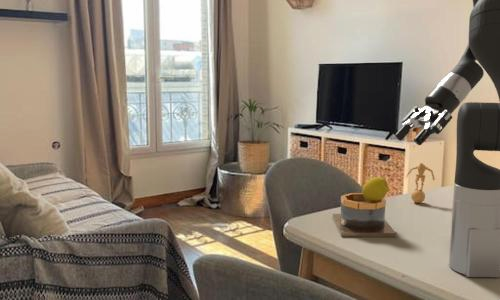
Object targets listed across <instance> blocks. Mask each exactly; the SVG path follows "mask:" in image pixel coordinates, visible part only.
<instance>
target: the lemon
mask: <svg viewBox="0 0 500 300" xmlns="http://www.w3.org/2000/svg"><path fill="white" fill-rule="evenodd" d="M361 191H362V192H361V193H363V196H364V198H365V200H366V201H369V202H377V201H380V200H381V199H383V198H384V199H385V197H386V195H387V194H388V191H389V184H388V182H387V180H386V179H385V178H383V177H380V176H374V177H372V178H370V179H369V180H367V181H366V182H365V183H364V185H363V187H362V189H361Z"/></svg>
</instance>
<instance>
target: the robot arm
mask: <svg viewBox="0 0 500 300" xmlns="http://www.w3.org/2000/svg"><path fill="white" fill-rule="evenodd" d="M472 4H473V5H472V7H473V8H472V9H471V12H470V14H469V23H468V42H467V45H466V48H465V50H464V52H463V54H462V56H461V58H460V60H459V61H458V63H457V64H456V65H455V66H454V68H452V70H451V71H450V72H449V73H448V74H446V76H444V77H443V78H442V79H441V80H440V81H439V83H437V84H436V85H435V86H434V88H432V90H431V91H430V92H429V93H428V94H427V95H426V97H425V99H424V102H425V104H424V106H423V107H421V108H419V107H418V106H417V105H416V106H414V107H413V108H412V109H411V110H410V111H408V113H407V114H406V115H405V116H404V117H403V118H402V119H401V120H400V123H401V124H402V127H400V129H399V130H398V131H397V132H396V133H395V134H394V137H395V138H396V140H397V141H400V142H401V141H403V139H405V137H407V136H408V134H409V133H411V131H412V130H414V129H415V128H417V129H418V128H420V127H423V126H424V128H422V129H421V131H420V132H418V134H416V136H415V137H414V138H413V141H414V143H415V144H417V146H421V145H422V144H423V143H424V142H426V140H427V139H428V138H429V137H430V136H433V135H434V134H436V135H440V133H441V132H442V131H443V130H444V129H445V128H446V126H447V125H448V124H449V123H450V121H451V120H453V116H452V114H453V113H454V111H455V110H456V109H458V107H459V109H458V112H457V118H456V155H455V156H456V158H455V169H454V170H455V172H454V183H453V185H454V186H453V197H452V198H453V199H452V210H451V211H452V213H451V214H452V215H451V225H450V226H451V227H450V240H449V241H450V242H449V243H450V245H449V259H448V266H449V268H450V269H452V270H453V271H454V272H456V273H460V274H462V275H464V276H465V277H468V278H500V169H499V168H497V167H494V166H492V165H489V164H487V163H485V162H483V161H481V160H480V159H479V158H477V157H476V155H475V154H474V151H482V152H483V151H484V152H485V151H487V152H500V0H472ZM476 61H477V62H478V63H477V62H476ZM484 72H486V74H487V75H488V76H489V78H490V80H491V81H492V83H493V85H494V87H495V89H496V90H495V91H496V93H497V96H498V100H499V102H481V101H480V102H472V101H468V102H464V103H463V101H465V100H466V98H467V97H468V95H469V93H470V92H471V91H472V90H473V89H474V88H475V87H476V86H477V85H478V83H480V81H481V80H482V78H483V77H484V74H485V73H484ZM438 125H439V127H438Z"/></svg>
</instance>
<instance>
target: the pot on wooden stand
mask: <svg viewBox="0 0 500 300" xmlns="http://www.w3.org/2000/svg"><path fill="white" fill-rule="evenodd" d="M386 203H387V200H386V199H385V197H384V198H383V199H381V200H380V201H377V202H369V201H366V200H365V198H364V196H363V193H362V192H349V193H346V194H343V195H341V196H340V213H332V214H331V215H332V216H331V217H332V218H331V219H333V222H334V224H335V226H336V228H337V230H338V233H339V234H340V237H345V238H346V237H347V238H351V237H352V238H357V237H358V238H366V237H367V238H397V233H396V231H395V230H394V228H392V226H391V225H390V224H389V223H388V222H387V220H386V205H387V204H386Z"/></svg>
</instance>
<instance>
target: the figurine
mask: <svg viewBox="0 0 500 300" xmlns="http://www.w3.org/2000/svg"><path fill="white" fill-rule="evenodd" d="M414 170H417V172H418V173H417V174H415V180H414V182H415V185H416V187H415V189H414V190H413V191H412V193H411V194H410V197H411V200H412V201H413V202H414V203H416V204H420V203H422V202H424V201H425V199H426V194H425V192H424V191H423V188H424V182H425V179H426V175H425V171H426V170H427V171H429V172H430V173H431V176H432V181H435V175H434V171H433V170H432V169H431V168H429V167H428V166H426V165H425V164H423V163H422V162H420V164H419V165H416V166H414V167H412V168H410V170H409V171H408V173H407V174H406V177H405V178H408V177H409V175H410V174H411V173H412V171H414ZM418 181H420V182H421V183H420V185H421V186H420V189H419V182H418Z"/></svg>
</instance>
